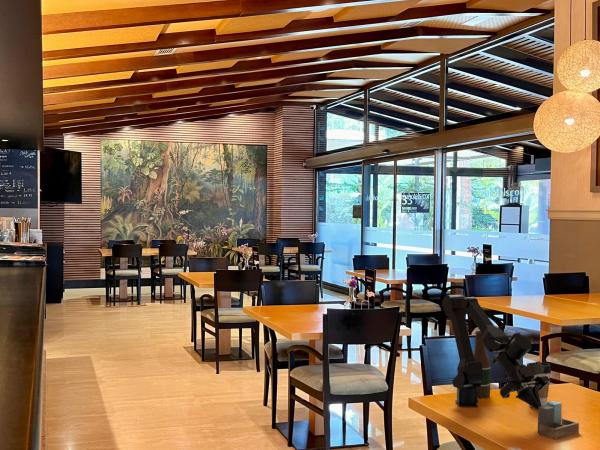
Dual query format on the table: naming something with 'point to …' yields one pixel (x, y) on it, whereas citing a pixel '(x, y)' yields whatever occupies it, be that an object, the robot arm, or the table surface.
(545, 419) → the dark gray block
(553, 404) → the pale blue tall block
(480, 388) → the beer bottle
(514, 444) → the table surface
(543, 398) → the coffee cup
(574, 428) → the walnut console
